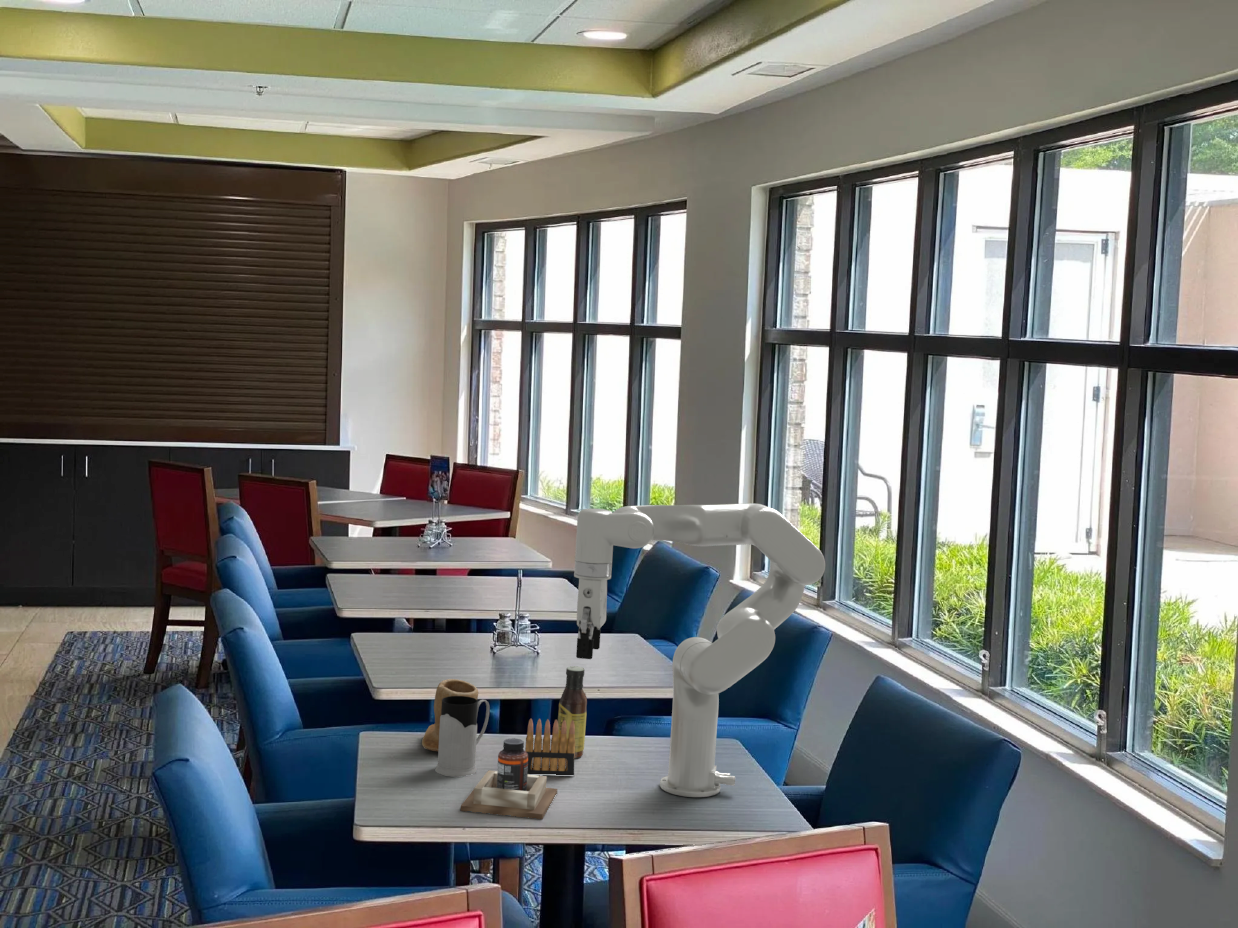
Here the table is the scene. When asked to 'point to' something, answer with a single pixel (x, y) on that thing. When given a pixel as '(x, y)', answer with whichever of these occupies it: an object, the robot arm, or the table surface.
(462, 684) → the tan boot
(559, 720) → the sauce bottle
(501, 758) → the supplement bottle
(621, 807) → the table surface
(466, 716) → the black and white mug
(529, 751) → the ammunition clip
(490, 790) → the board
